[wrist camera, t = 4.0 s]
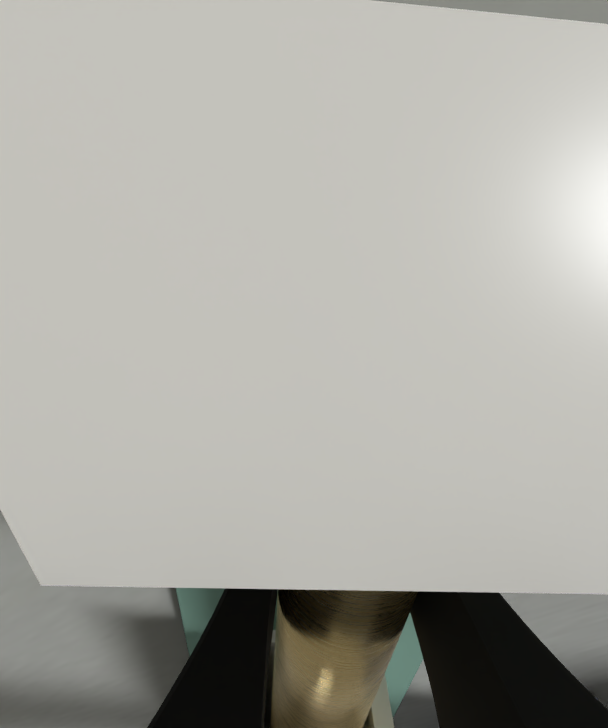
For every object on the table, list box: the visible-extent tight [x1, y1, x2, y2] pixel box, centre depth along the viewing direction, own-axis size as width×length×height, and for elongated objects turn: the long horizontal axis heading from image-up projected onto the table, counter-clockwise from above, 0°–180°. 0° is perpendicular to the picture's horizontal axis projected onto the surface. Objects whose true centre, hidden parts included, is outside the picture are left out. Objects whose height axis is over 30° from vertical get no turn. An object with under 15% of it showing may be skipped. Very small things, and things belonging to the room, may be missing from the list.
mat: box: [176, 588, 423, 717], centre depth 15 cm, size 32×12×1 cm, turn 176°
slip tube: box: [270, 589, 419, 728], centre depth 11 cm, size 21×4×4 cm, turn 176°
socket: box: [0, 0, 608, 594], centre depth 6 cm, size 5×9×6 cm, turn 86°
